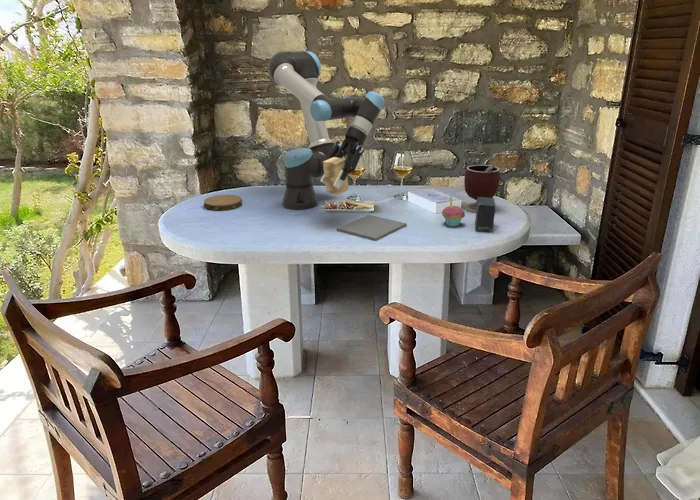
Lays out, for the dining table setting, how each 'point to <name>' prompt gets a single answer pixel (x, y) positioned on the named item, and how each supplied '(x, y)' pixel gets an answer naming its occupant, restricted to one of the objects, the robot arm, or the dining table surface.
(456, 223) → the cupcake
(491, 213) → the small box
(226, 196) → the wood slice
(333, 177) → the oak block
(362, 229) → the mat
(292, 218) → the dining table surface
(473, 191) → the mate gourd
